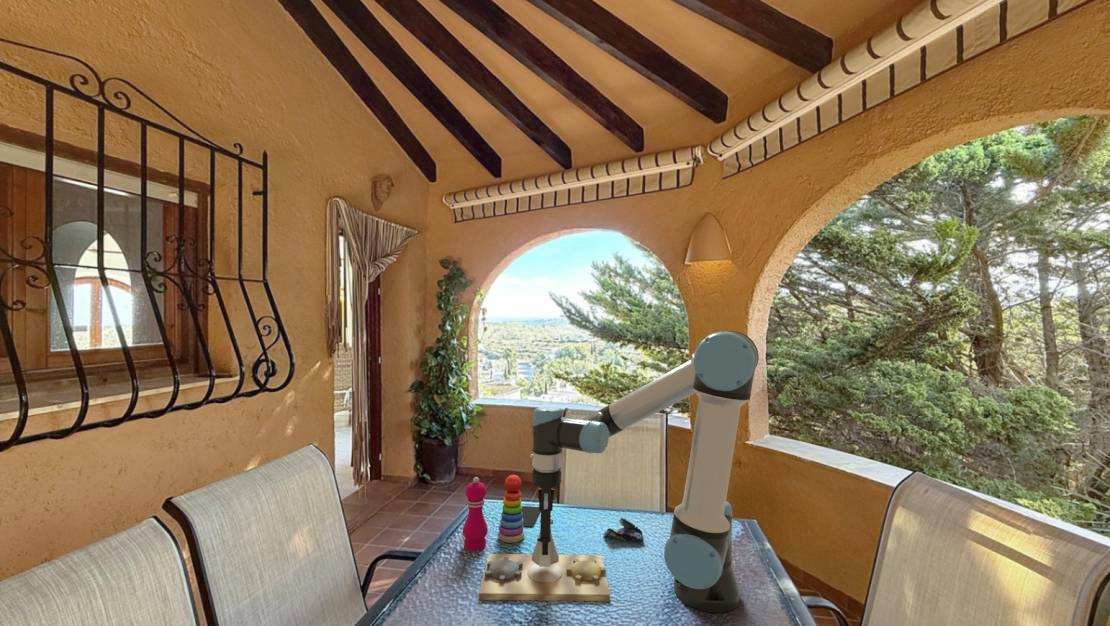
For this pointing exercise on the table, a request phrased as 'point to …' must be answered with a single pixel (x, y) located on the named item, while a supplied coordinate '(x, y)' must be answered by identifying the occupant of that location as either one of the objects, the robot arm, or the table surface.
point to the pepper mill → (475, 517)
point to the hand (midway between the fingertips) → (544, 557)
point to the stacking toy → (511, 512)
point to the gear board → (544, 579)
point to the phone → (530, 516)
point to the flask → (553, 552)
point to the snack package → (625, 532)
